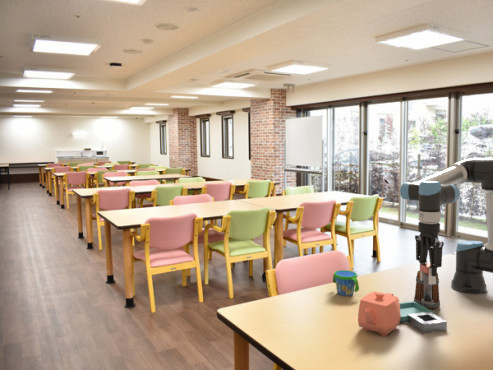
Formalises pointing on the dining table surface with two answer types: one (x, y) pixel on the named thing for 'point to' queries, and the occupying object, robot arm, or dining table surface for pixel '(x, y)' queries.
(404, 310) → the tray
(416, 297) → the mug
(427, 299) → the rod with pink block
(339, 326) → the dining table surface
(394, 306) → the teapot
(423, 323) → the eye block
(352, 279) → the snack cup
